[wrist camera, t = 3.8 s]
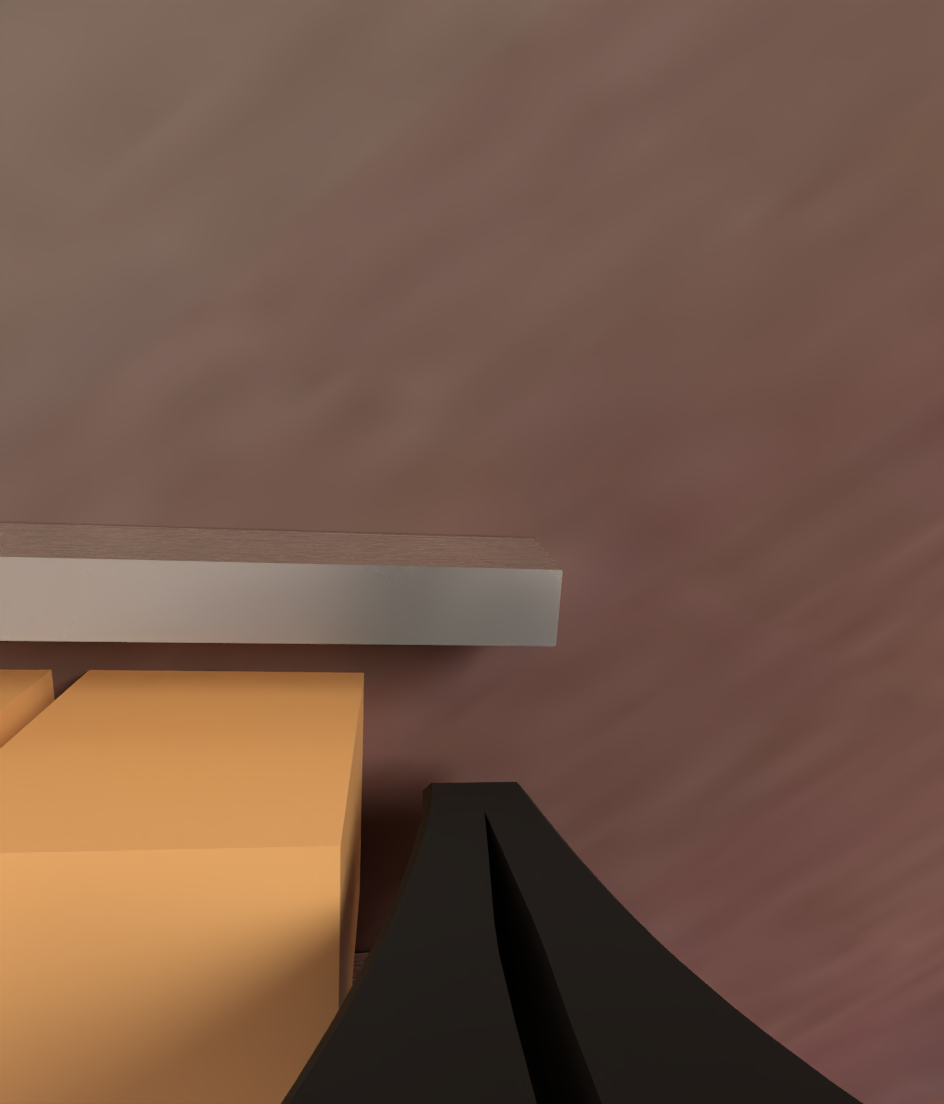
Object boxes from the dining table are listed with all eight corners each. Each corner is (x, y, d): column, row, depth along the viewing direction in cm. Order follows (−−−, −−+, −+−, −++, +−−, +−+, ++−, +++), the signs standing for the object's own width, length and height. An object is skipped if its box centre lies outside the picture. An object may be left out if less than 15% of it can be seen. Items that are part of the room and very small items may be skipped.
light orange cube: (363, 670, 10) (341, 845, 6) (359, 888, 11) (336, 1159, 7) (90, 667, 10) (-120, 855, 6) (111, 895, 10) (-58, 1189, 7)
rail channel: (534, 537, 10) (562, 569, 8) (499, 993, 12) (515, 1098, 10) (-294, 513, 8) (-477, 545, 7) (-176, 1027, 10) (-293, 1155, 9)
